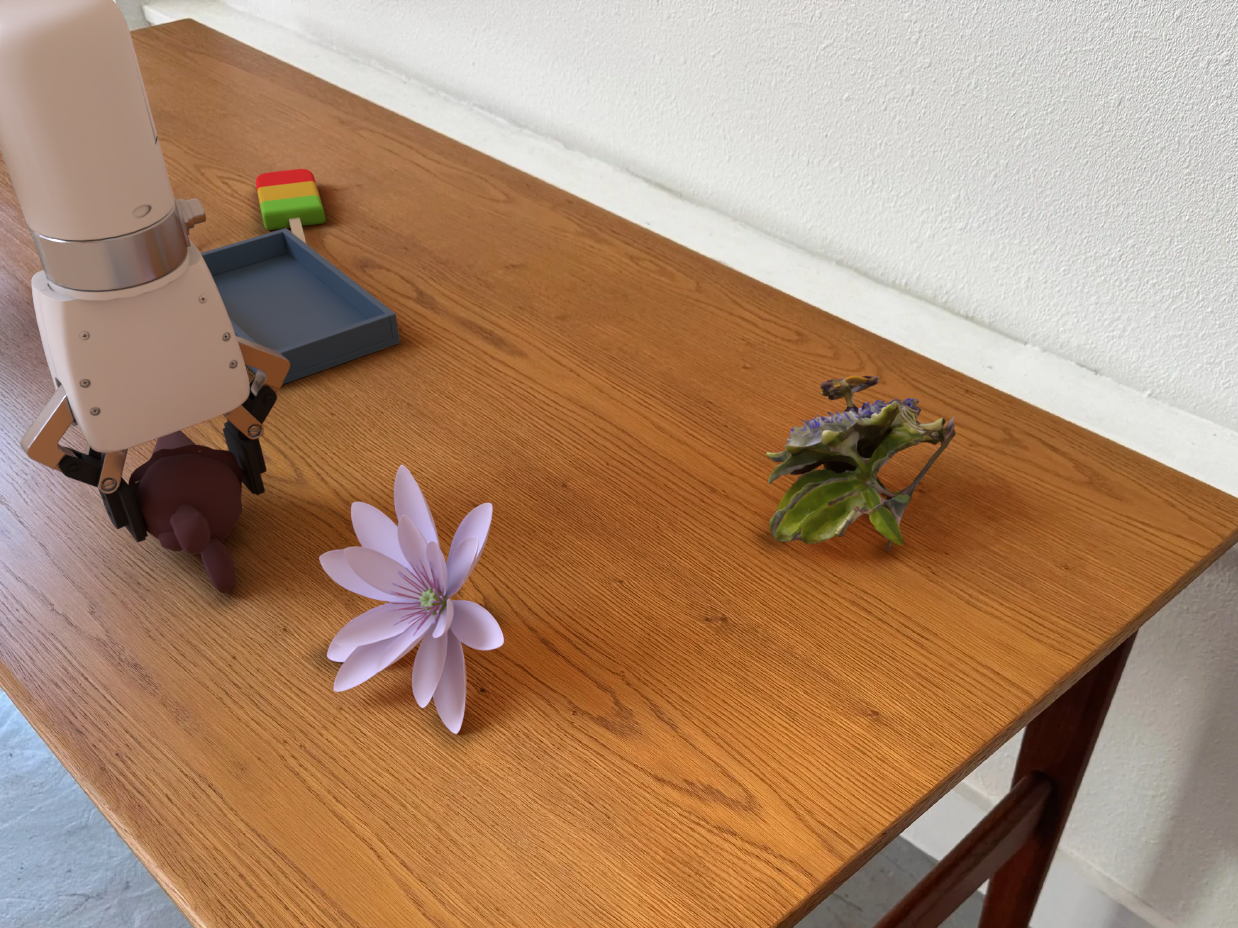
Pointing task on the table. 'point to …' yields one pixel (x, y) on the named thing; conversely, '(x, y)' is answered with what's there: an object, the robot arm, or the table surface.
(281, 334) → the tray
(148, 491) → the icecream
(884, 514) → the passion flower
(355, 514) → the water lily
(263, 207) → the popsicle
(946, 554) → the table surface
